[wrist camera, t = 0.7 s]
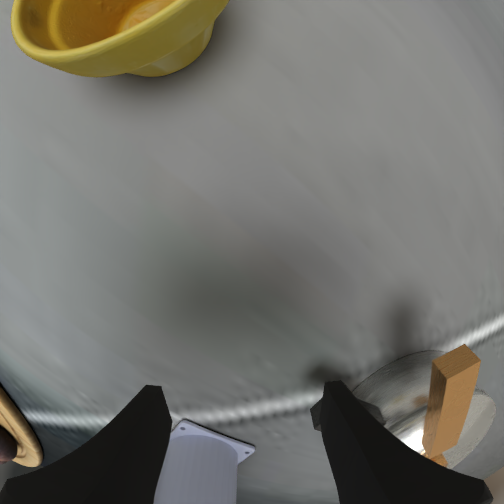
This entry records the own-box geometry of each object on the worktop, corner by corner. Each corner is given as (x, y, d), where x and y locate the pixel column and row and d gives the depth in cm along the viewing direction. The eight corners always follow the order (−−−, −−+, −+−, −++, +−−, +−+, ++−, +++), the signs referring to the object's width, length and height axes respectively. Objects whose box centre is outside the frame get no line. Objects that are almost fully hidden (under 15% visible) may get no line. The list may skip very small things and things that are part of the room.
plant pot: (269, -2, 14) (281, -98, 5) (201, 124, 17) (150, 84, 7) (139, -28, 13) (90, -99, 3) (74, 85, 15) (-22, 56, 6)
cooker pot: (484, 379, 24) (509, 409, 18) (404, 456, 27) (418, 490, 21) (370, 301, 20) (405, 346, 14) (263, 418, 23) (265, 472, 18)
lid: (471, 450, 19) (481, 467, 16) (350, 503, 20) (355, 525, 18) (515, 298, 14) (542, 316, 11) (325, 385, 15) (337, 424, 12)
